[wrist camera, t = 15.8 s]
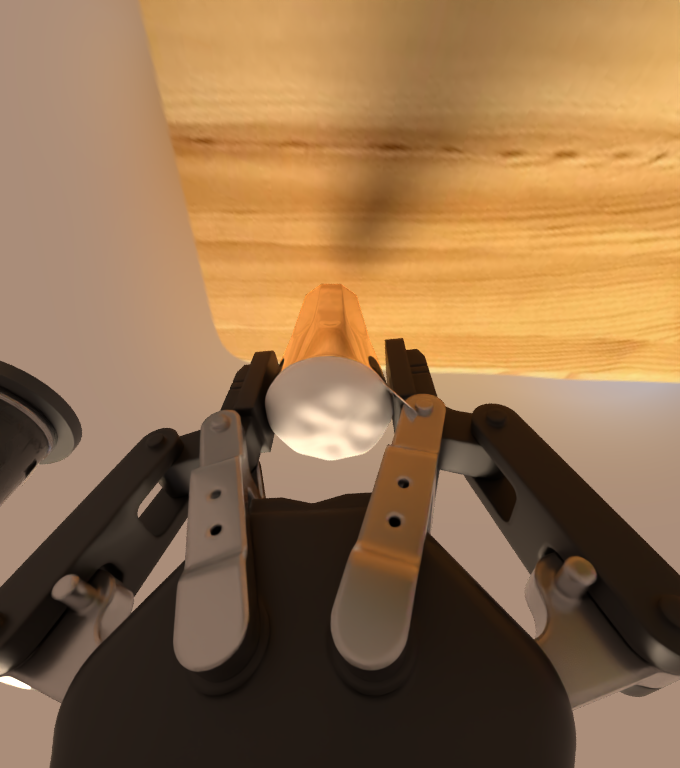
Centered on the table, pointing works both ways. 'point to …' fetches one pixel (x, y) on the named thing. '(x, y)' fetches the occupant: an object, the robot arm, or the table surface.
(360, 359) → the milkshake
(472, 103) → the table surface
